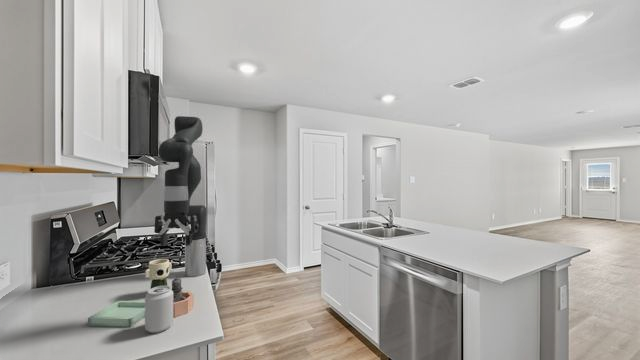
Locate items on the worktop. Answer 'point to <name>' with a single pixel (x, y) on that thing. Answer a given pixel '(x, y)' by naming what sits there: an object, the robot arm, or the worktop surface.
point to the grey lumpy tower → (177, 290)
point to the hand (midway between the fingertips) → (176, 245)
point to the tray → (119, 314)
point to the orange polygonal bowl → (183, 304)
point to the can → (158, 309)
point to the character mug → (158, 272)
